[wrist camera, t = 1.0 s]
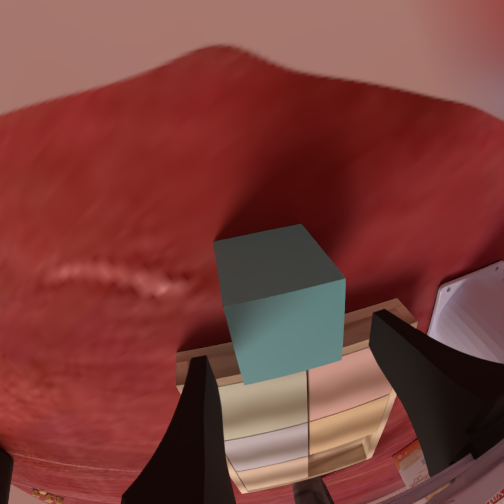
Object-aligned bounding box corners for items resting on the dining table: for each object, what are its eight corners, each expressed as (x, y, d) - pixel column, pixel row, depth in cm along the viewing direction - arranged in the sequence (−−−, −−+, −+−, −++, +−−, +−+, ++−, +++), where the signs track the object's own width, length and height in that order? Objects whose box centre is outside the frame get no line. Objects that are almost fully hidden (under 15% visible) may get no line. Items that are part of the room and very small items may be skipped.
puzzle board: (176, 352, 20) (176, 385, 18) (396, 297, 22) (417, 321, 19) (238, 474, 31) (242, 493, 29) (363, 440, 33) (371, 457, 30)
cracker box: (455, 405, 36) (513, 498, 18) (463, 410, 39) (515, 493, 20) (389, 456, 40) (433, 549, 21) (402, 457, 42) (443, 541, 24)
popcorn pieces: (65, 496, 35) (64, 505, 33) (51, 496, 35) (50, 504, 33) (44, 486, 32) (43, 494, 31) (31, 486, 33) (30, 494, 31)
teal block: (300, 223, 17) (345, 278, 12) (306, 294, 20) (341, 360, 15) (213, 241, 17) (223, 307, 12) (229, 312, 19) (244, 385, 14)
